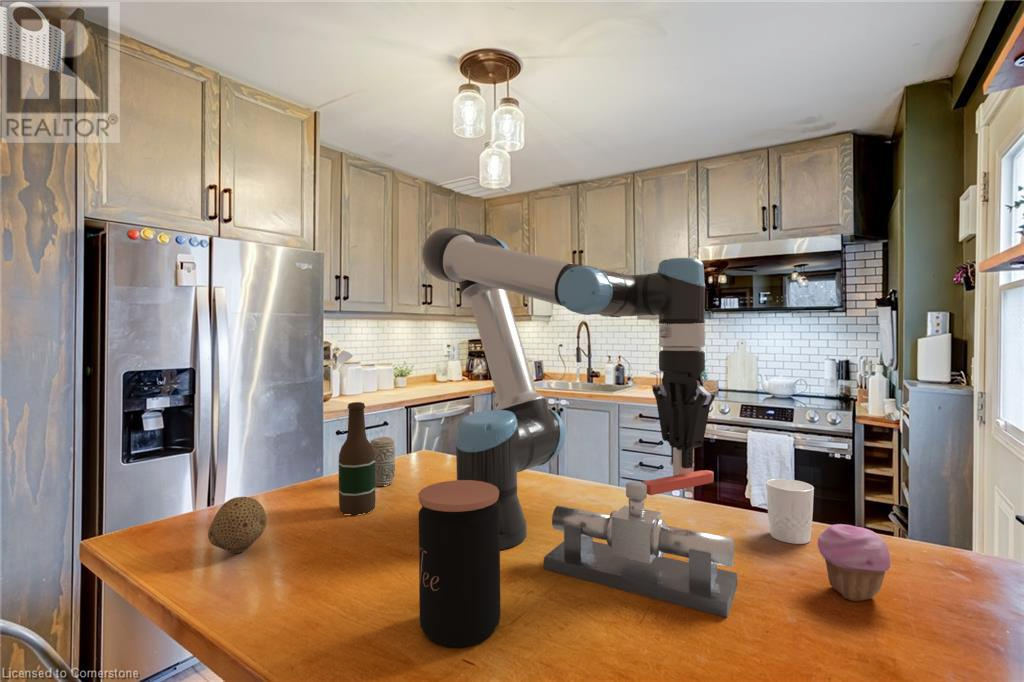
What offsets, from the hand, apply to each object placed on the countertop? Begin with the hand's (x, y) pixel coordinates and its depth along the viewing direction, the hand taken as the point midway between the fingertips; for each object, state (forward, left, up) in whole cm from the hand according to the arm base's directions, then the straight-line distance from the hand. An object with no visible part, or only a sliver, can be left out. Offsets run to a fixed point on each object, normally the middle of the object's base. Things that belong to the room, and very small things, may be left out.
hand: (682, 485), depth 86 cm
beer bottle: (-67, -12, -13) cm, 70 cm away
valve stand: (-4, -11, -12) cm, 17 cm away
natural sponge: (-68, -38, -13) cm, 80 cm away
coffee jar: (-20, -36, -13) cm, 44 cm away
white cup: (+16, +19, -13) cm, 27 cm away
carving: (-77, +5, -13) cm, 79 cm away
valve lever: (-1, -5, 0) cm, 5 cm away
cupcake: (+25, 0, -13) cm, 28 cm away
